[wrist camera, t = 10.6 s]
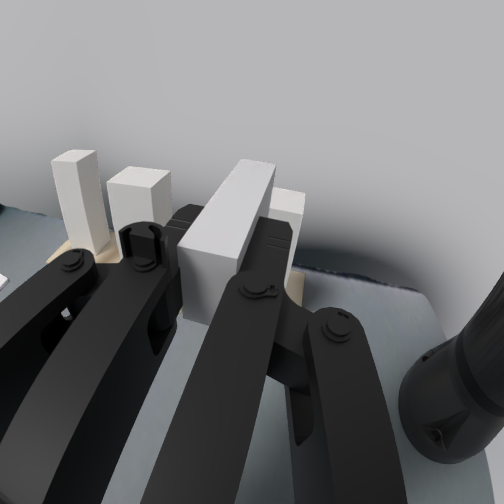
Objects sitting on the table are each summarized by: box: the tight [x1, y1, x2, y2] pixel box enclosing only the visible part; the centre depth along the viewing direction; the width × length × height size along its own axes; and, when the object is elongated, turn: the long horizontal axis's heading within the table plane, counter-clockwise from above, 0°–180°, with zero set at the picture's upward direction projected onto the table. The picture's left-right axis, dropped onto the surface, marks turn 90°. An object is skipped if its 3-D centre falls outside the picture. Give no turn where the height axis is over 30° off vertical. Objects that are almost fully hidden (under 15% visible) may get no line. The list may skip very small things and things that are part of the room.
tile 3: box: [51, 150, 111, 255], centre depth 34 cm, size 5×4×14 cm
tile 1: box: [268, 187, 305, 289], centre depth 29 cm, size 5×4×14 cm
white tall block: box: [106, 166, 172, 259], centre depth 30 cm, size 5×4×14 cm
